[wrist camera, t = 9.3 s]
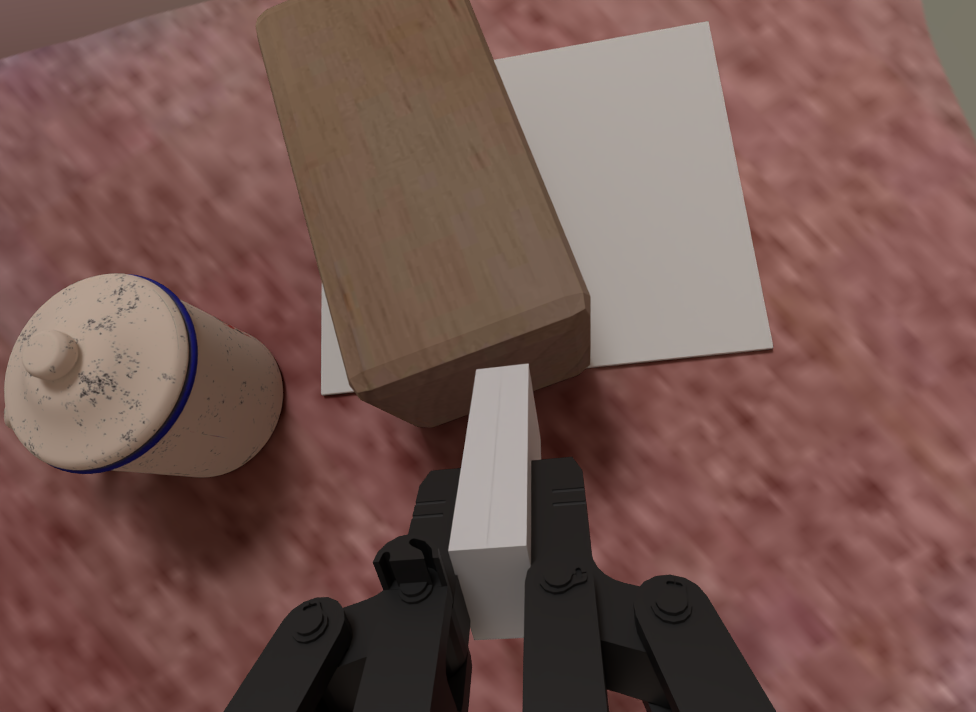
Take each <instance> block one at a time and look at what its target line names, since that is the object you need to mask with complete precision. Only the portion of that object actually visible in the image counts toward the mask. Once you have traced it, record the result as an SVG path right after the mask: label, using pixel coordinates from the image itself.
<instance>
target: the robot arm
mask: <svg viewBox="0 0 976 712" xmlns="http://www.w3.org/2000/svg"><path fill="white" fill-rule="evenodd" d="M373 564H374V567H375V569H376V572H377V575H378V577H379V580H380V582H381V585H382V588H383V591H382V592H380V593H379V594H377V595H376V596H374V597H371V598H369V599H367V600H364V601H361V602H359V603H356V604H353V605H350V606H347V607H344V608H342V606H341V605H340V604H339V602H338V601H336V600H334V599H331V598H329V597H321V598H314V599H311V600H308V601H305V602H303V603H302V604H300V605H299V606H297V607H296V608H294V609H293V610H292V611H291V612H290V613H289V614H288V615H287V617H286V618H285V619H284V620H283V621H282V623H281V624H280V626H279V627H278V629H277V630H276V632H275V634H274V635H273V637H272V638H271V640H270V641H269V643H268V644H267V646H266V647H265V649H264V650H263V652H262V654H261V655H260V657H259V658H258V660H257V661H256V663H255V664H254V666H253V667H252V669H251V670H250V672H249V673H248V675H247V677H246V678H245V680H244V681H243V683H242V684H241V686H240V687H239V689H238V690H237V692H236V693H235V695H234V696H233V698H232V700H231V701H230V703H229V704H228V706H227V707H226V709H225V710H224V712H468V707H469V696H470V684H471V673H472V661H471V655H470V651H469V648H468V642H469V632H470V628H471V631H472V634H473V638H474V640H486V639H507V638H524V656H523V712H609V706H608V696H607V689H608V690H611V691H614V692H618V693H621V694H624V695H627V696H631V697H634V698H637V699H640V700H642V701H643V704H644V706H645V708H646V711H647V712H776V710H775V709H774V707H773V705H772V704H771V702H770V700H769V699H768V697H767V695H766V694H765V692H764V690H763V689H762V687H761V685H760V684H759V682H758V680H757V679H756V677H755V675H754V674H753V672H752V670H751V669H750V667H749V665H748V664H747V662H746V660H745V659H744V657H743V655H742V654H741V652H740V650H739V649H738V647H737V645H736V644H735V642H734V640H733V639H732V637H731V635H730V634H729V632H728V630H727V629H726V627H725V625H724V624H723V622H722V620H721V619H720V617H719V615H718V614H717V612H716V610H715V609H714V607H713V605H712V604H711V602H710V600H709V599H708V597H707V595H706V594H705V593H704V592H703V591H702V590H701V589H700V587H699V586H698V585H696V584H695V583H693V582H691V581H689V580H687V579H686V578H683V577H678V576H674V575H662V576H655V577H653V578H651V579H649V580H647V581H644V582H643V584H642V585H641V586H635V585H631V584H627V583H623V582H620V581H617V580H614V579H612V578H610V577H609V576H607V575H605V574H604V573H603V572H602V571H601V570H600V569H599V568H598V567H597V565H596V564H595V562H594V560H593V557H592V550H591V541H590V531H589V522H588V513H587V505H586V497H585V488H584V480H583V472H582V469H581V468H580V467H579V465H578V464H577V463H576V461H575V460H574V459H573V457H565V458H553V459H542V460H541V438H540V432H539V426H538V420H537V413H536V407H535V401H534V395H533V388H532V382H531V376H530V370H529V364H520V365H511V366H502V367H494V368H485V369H476V375H475V381H474V388H473V394H472V401H471V407H470V414H469V420H468V426H467V433H466V439H465V446H464V452H463V459H462V465H461V468H457V469H446V470H434V471H430V473H429V474H428V475H427V477H426V478H425V479H424V481H423V482H422V483H421V485H420V486H419V490H418V495H417V499H416V505H415V507H414V512H413V519H412V520H411V524H410V529H409V533H408V535H404V536H399V537H397V538H395V539H393V540H392V541H390V542H388V543H387V544H386V545H385V546H383V547H382V548H381V549H380V550H379V551H378V553H377V555H376V557H375V559H374V561H373Z"/></svg>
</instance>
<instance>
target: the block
mask: <svg viewBox="0 0 976 712" xmlns="http://www.w3.org/2000/svg"><path fill="white" fill-rule="evenodd" d="M256 31H257V37H258V42H259V46H260V50H261V53H262V57H263V61H264V65H265V69H266V72H267V76H268V80H269V84H270V87H271V91H272V95H273V99H274V103H275V106H276V110H277V114H278V118H279V121H280V125H281V129H282V133H283V137H284V140H285V144H286V148H287V152H288V156H289V159H290V163H291V167H292V171H293V174H294V178H295V182H296V186H297V190H298V193H299V197H300V201H301V205H302V209H303V212H304V216H305V220H306V224H307V227H308V231H309V235H310V239H311V243H312V246H313V250H314V254H315V258H316V262H317V265H318V269H319V273H320V277H321V280H322V284H323V288H324V292H325V296H326V299H327V303H328V307H329V311H330V315H331V318H332V322H333V326H334V330H335V333H336V337H337V341H338V345H339V349H340V352H341V356H342V360H343V364H344V368H345V371H346V375H347V379H348V383H349V386H350V387H351V388H352V390H353V391H354V392H355V393H356V395H357V396H358V397H359V398H360V400H362V401H364V402H367V403H369V404H371V405H373V406H375V407H377V408H379V409H381V410H383V411H386V412H388V413H390V414H392V415H394V416H396V417H398V418H400V419H402V420H405V421H407V422H409V423H411V424H413V425H415V426H417V427H431V428H432V427H435V426H438V425H441V424H443V423H446V422H449V421H452V420H454V419H457V418H460V417H463V416H465V415H468V414H470V407H471V401H472V394H473V388H474V381H475V375H476V369H485V368H494V367H502V366H511V365H520V364H529V370H530V376H531V382H532V388H533V391H535V390H538V389H540V388H543V387H546V386H549V385H551V384H554V383H557V382H560V381H563V380H565V379H568V378H571V377H574V376H576V375H579V374H580V373H581V372H582V371H584V370H585V369H586V368H587V367H588V366H589V365H590V356H591V296H590V294H589V291H588V289H587V286H586V284H585V281H584V279H583V277H582V274H581V272H580V269H579V267H578V264H577V262H576V259H575V257H574V255H573V252H572V250H571V247H570V245H569V242H568V240H567V238H566V235H565V233H564V230H563V228H562V225H561V223H560V220H559V218H558V216H557V213H556V211H555V208H554V206H553V203H552V201H551V198H550V196H549V194H548V191H547V189H546V186H545V184H544V181H543V179H542V177H541V174H540V172H539V169H538V167H537V164H536V162H535V159H534V157H533V155H532V152H531V150H530V147H529V145H528V142H527V140H526V137H525V135H524V133H523V130H522V128H521V125H520V123H519V120H518V118H517V116H516V113H515V111H514V108H513V106H512V103H511V101H510V98H509V96H508V94H507V91H506V89H505V86H504V84H503V81H502V79H501V77H500V74H499V72H498V69H497V67H496V64H495V62H494V59H493V57H492V55H491V52H490V50H489V47H488V45H487V42H486V40H485V37H484V35H483V33H482V30H481V28H480V25H479V23H478V20H477V18H476V16H475V13H474V11H473V8H472V6H471V3H470V1H469V0H288V1H285V2H283V3H281V4H278V5H276V6H274V7H271V8H269V9H267V10H265V11H264V12H263V13H262V14H261V15H260V16H259V17H258V18H257V22H256Z"/></svg>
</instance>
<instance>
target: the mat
mask: <svg viewBox="0 0 976 712" xmlns="http://www.w3.org/2000/svg"><path fill="white" fill-rule="evenodd" d="M494 62H495V64H496V67H497V69H498V72H499V74H500V77H501V79H502V81H503V84H504V86H505V89H506V91H507V94H508V96H509V98H510V101H511V103H512V106H513V108H514V111H515V113H516V116H517V118H518V120H519V123H520V125H521V128H522V130H523V133H524V135H525V137H526V140H527V142H528V145H529V147H530V150H531V152H532V155H533V157H534V159H535V162H536V164H537V167H538V169H539V172H540V174H541V177H542V179H543V181H544V184H545V186H546V189H547V191H548V194H549V196H550V198H551V201H552V203H553V206H554V208H555V211H556V213H557V216H558V218H559V220H560V223H561V225H562V228H563V230H564V233H565V235H566V238H567V240H568V242H569V245H570V247H571V250H572V252H573V255H574V257H575V259H576V262H577V264H578V267H579V269H580V272H581V274H582V277H583V279H584V281H585V284H586V286H587V289H588V291H589V294H590V296H591V356H590V365H589V366H588V367H587V368H594V367H603V366H613V365H623V364H632V363H642V362H652V361H662V360H671V359H681V358H691V357H700V356H710V355H720V354H729V353H739V352H749V351H758V350H768V349H772V348H773V343H772V338H771V333H770V328H769V323H768V318H767V313H766V308H765V303H764V298H763V293H762V288H761V283H760V278H759V273H758V268H757V263H756V258H755V253H754V248H753V243H752V238H751V233H750V228H749V223H748V218H747V213H746V208H745V203H744V198H743V193H742V188H741V183H740V178H739V173H738V168H737V163H736V158H735V153H734V148H733V143H732V138H731V133H730V128H729V123H728V118H727V113H726V108H725V103H724V98H723V93H722V88H721V83H720V78H719V73H718V68H717V63H716V58H715V53H714V47H713V42H712V37H711V32H710V27H709V22H708V21H706V22H701V23H695V24H690V25H684V26H679V27H673V28H668V29H662V30H657V31H651V32H646V33H640V34H635V35H629V36H624V37H618V38H613V39H607V40H602V41H596V42H591V43H585V44H580V45H574V46H568V47H563V48H557V49H552V50H546V51H541V52H535V53H530V54H524V55H519V56H513V57H508V58H502V59H497V60H494ZM352 392H354V391H353V390H352V388H351V387H350V386H349V383H348V379H347V375H346V371H345V368H344V364H343V360H342V356H341V352H340V349H339V345H338V341H337V337H336V333H335V330H334V326H333V322H332V318H331V315H330V311H329V307H328V303H327V299H326V296H325V292H324V288H323V284H322V341H321V395H332V394H342V393H352Z"/></svg>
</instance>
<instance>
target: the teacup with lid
mask: <svg viewBox="0 0 976 712" xmlns="http://www.w3.org/2000/svg"><path fill="white" fill-rule="evenodd" d="M4 395H5V405H6V407H5V409H4V421H5V424H6V425H7V426H8V427H9V428H11V429H13V430H14V432H15V434H16V436H17V437H18V439H19V440H20V442H21V443H22V444H23V445H24V446H25V447H26V448H27V450H29V451H30V452H31V453H32V454H33V455H34V456H36V457H37V458H38V459H40V460H42V461H43V462H45V463H47V464H49V465H51V466H53V467H54V468H57V469H60V470H62V471H67V472H71V473H78V474H94V473H102V472H106V471H110V470H113V471H125V472H138V473H150V474H163V475H175V476H188V477H214V476H218V475H222V474H225V473H228V472H231V471H233V470H235V469H237V468H239V467H240V466H242V465H244V464H245V463H246V462H248V461H249V460H250V459H252V458H253V457H254V456H255V455H256V454H257V453H258V452H259V451H260V450H261V449H262V448H263V446H264V445H265V444H266V442H267V441H268V440H269V438H270V436H271V435H272V433H273V431H274V429H275V427H276V425H277V422H278V419H279V416H280V412H281V408H282V401H283V384H282V378H281V374H280V370H279V368H278V365H277V363H276V361H275V359H274V357H273V356H272V354H271V353H270V351H269V350H268V349H267V348H266V347H265V346H264V345H263V344H262V343H261V342H260V341H258V340H257V339H256V338H254V337H252V336H251V335H249V334H247V333H245V332H243V331H241V330H239V329H237V328H235V327H233V326H231V325H229V324H227V323H225V322H223V321H221V320H219V319H217V318H215V317H213V316H212V315H210V314H208V313H206V312H204V311H202V310H200V309H198V308H196V307H194V306H192V305H190V304H188V303H186V302H184V301H182V300H180V299H179V298H178V297H177V296H176V295H175V294H174V293H173V292H172V291H171V290H169V289H168V288H167V287H165V286H164V285H162V284H160V283H158V282H157V281H154V280H152V279H149V278H146V277H143V276H138V275H132V274H105V275H99V276H94V277H91V278H87V279H84V280H81V281H79V282H76V283H74V284H72V285H70V286H68V287H67V288H65V289H63V290H61V291H60V292H59V293H57V294H56V295H54V296H53V297H52V298H50V299H49V300H48V301H47V302H46V303H45V304H44V305H43V306H41V307H40V308H39V310H38V311H37V312H36V313H35V314H34V315H33V316H32V318H31V319H30V320H29V321H28V323H27V324H26V326H25V327H24V329H23V330H22V332H21V334H20V335H19V337H18V339H17V341H16V343H15V345H14V348H13V350H12V353H11V355H10V359H9V362H8V366H7V370H6V376H5V387H4Z"/></svg>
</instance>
